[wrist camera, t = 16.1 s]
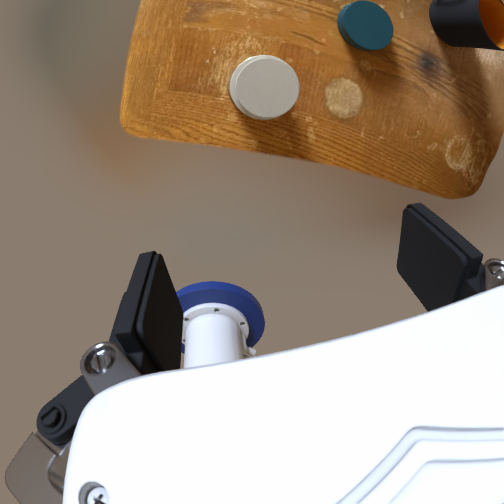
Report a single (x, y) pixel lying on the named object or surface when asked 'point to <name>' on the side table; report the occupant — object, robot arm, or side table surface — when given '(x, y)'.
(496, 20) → the mug
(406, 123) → the side table surface
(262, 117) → the jar
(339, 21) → the jar lid
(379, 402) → the robot arm
